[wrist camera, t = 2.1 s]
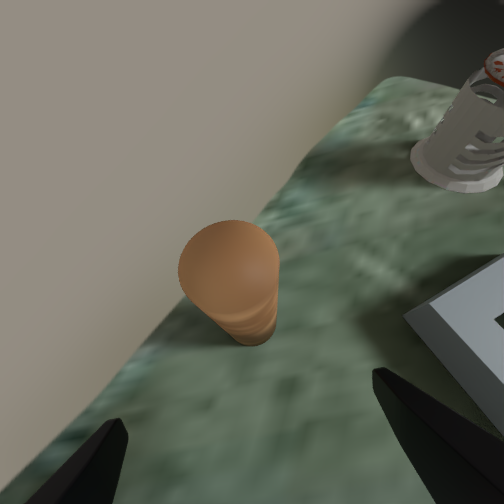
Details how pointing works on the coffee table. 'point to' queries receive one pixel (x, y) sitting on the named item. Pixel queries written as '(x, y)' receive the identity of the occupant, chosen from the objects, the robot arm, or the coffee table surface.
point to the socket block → (469, 335)
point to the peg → (233, 278)
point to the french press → (467, 137)
